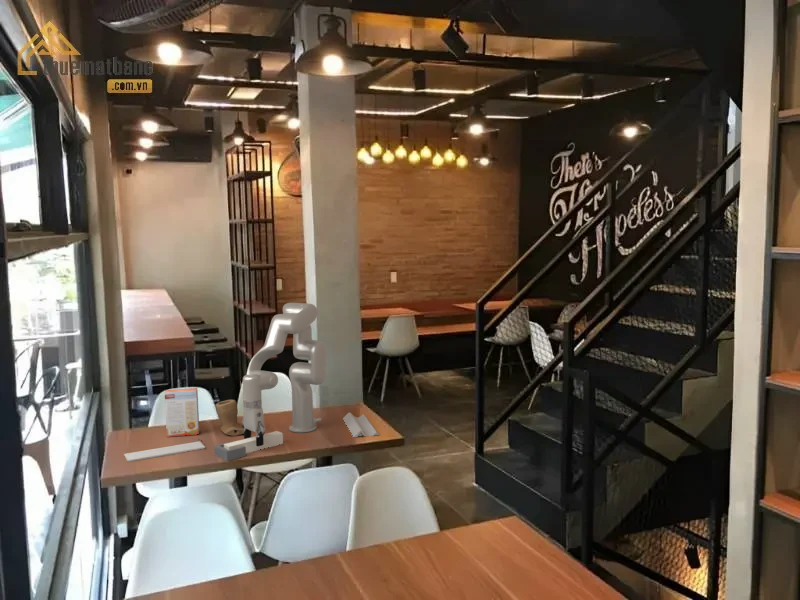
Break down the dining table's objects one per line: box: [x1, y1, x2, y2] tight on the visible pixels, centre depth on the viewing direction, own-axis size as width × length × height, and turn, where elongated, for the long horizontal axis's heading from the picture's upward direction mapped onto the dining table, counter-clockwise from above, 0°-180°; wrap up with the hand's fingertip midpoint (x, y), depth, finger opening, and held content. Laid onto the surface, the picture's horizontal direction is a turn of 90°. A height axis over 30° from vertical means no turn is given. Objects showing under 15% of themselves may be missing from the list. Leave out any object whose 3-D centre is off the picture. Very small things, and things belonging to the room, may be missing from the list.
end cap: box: [213, 440, 247, 462], centre depth 272 cm, size 8×10×4 cm
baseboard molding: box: [123, 438, 206, 463], centre depth 278 cm, size 31×3×12 cm
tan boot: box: [215, 399, 244, 437], centre depth 303 cm, size 15×12×15 cm
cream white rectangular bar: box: [224, 430, 284, 454], centre depth 280 cm, size 26×4×5 cm, turn 134°
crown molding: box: [342, 412, 380, 438], centre depth 311 cm, size 31×12×4 cm, turn 14°
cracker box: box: [164, 387, 200, 438], centre depth 301 cm, size 14×6×21 cm, turn 103°
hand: (253, 442), depth 280 cm, fingers open, 9 cm apart
